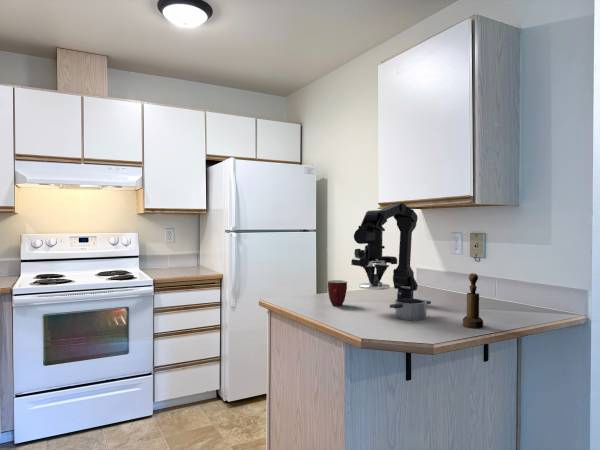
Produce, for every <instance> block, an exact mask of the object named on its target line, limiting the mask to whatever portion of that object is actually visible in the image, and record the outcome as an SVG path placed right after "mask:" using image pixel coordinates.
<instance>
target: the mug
mask: <svg viewBox="0 0 600 450" xmlns="http://www.w3.org/2000/svg"><path fill="white" fill-rule="evenodd" d="M347 289H348V281H346V280H341V279H340V280H339V279H335V280H334V279H332V280H328V281H327V292H328V293H327V294H328V299H329V301H330V303H331V305H332V306H333V307H341V306H343V304H344V302H345V299H346V296H347Z"/></svg>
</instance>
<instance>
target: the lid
mask: <svg viewBox="0 0 600 450" xmlns="http://www.w3.org/2000/svg"><path fill="white" fill-rule="evenodd" d="M378 277H379V274H376V273H374V279H373V283H372V284H371V283H370V282H363V283H359V288H360V289H365V290H374V291H375V290H379V291H380V290H381V291H382V290H388V289H390V288H391V287H390V286H391V285H389V284H387V283H383V282H382V281H380V282H379V283H378Z"/></svg>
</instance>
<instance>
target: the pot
mask: <svg viewBox="0 0 600 450" xmlns="http://www.w3.org/2000/svg"><path fill="white" fill-rule="evenodd" d="M431 304H432V302H431V300H426V299H424V300H423V299H420V298H413V299H412V298H402V299H395V301H394V303H391V304H389V308H391V309H395V312H394V313H395V314H394V316H395V318H396V319H399V320H405V321H410V322H411V321H417V322H418V321H424V320H426V319H427V305H431Z"/></svg>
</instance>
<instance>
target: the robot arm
mask: <svg viewBox="0 0 600 450" xmlns="http://www.w3.org/2000/svg"><path fill="white" fill-rule="evenodd" d="M392 217H393V218H394V220H395V221H396V226H397V228H398V230H399V232H400V233H399V247H398V248H399V249H398V258H397V257H396V256H391V255H390V256H389V255H383V249H385V248H386V247H385V245H383V234H384V233H383V232H385V231H386V229H385V227H383V226H384V225H385V224H386V223H387V222H388V219H390V218H392ZM418 218H419V217H418V214H417V213H416V212H415V210H414V209H413V208H410V207H409V206H407V205H406V203H404V202H394V203H392V204H390V205H388V206H385V207H383V208H381V209H378V210H377V209H376V210H375V209H374V210H373V209H372V210H367V211H366V212H365V214H364V216H363V219H362V221H361V223H360V225H358V226H357V228H358V229H356V230H355V232H354V234H353V239H354V241H355V243H357V244H358V245H364V244H365V246H364V249H361V248H355V249H354V253H353V254H354V257H352V259H351V266H357V267H360V268H363V270H364V271H365V273H366V275H367V278H368V283H371V284H372V283H373V279H374V274H379V277H378V283H379V282H381V280H382V278H383V276H384V274H385V273H386V270H387V269H388V268H389V267H390V265H389V264H391V265H397V267H396V268H394V269H393V271H392V272H393V275H392V283H393V288H394V289H395V290H397V293H396V298H397V299H402V298H412V299H414V292H416V291H417V290H418V286H419V285H418V283H417V281H416V280H415V273H414V271H413V268H412V267H411V256H412V254H411V253H412V240H413V239H412V234H413V231H414V230H415V229H416V228H417V227H416V226H417V222H418V220H419V219H418ZM387 263H388V264H387ZM397 299H396V300H397Z"/></svg>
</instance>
